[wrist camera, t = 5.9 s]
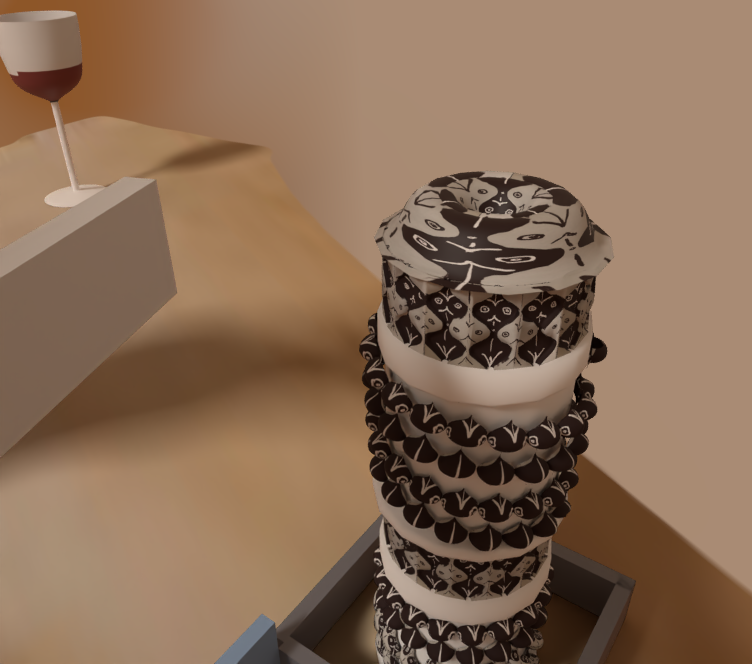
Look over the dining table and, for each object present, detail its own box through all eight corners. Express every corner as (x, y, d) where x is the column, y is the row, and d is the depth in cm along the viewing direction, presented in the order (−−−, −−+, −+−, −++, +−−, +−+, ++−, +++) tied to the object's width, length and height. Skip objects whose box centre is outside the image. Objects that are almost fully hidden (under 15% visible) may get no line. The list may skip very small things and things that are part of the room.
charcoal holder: (517, 855, 29) (524, 820, 27) (271, 675, 35) (266, 639, 34) (625, 616, 38) (635, 580, 36) (415, 510, 45) (416, 476, 43)
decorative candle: (405, 553, 42) (413, 140, 28) (560, 606, 39) (651, 169, 25) (337, 688, 35) (306, 223, 21) (520, 767, 31) (617, 277, 18)
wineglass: (34, 192, 94) (-16, 15, 82) (107, 179, 98) (69, 8, 86) (44, 213, 87) (-9, 24, 76) (121, 198, 92) (82, 17, 80)
